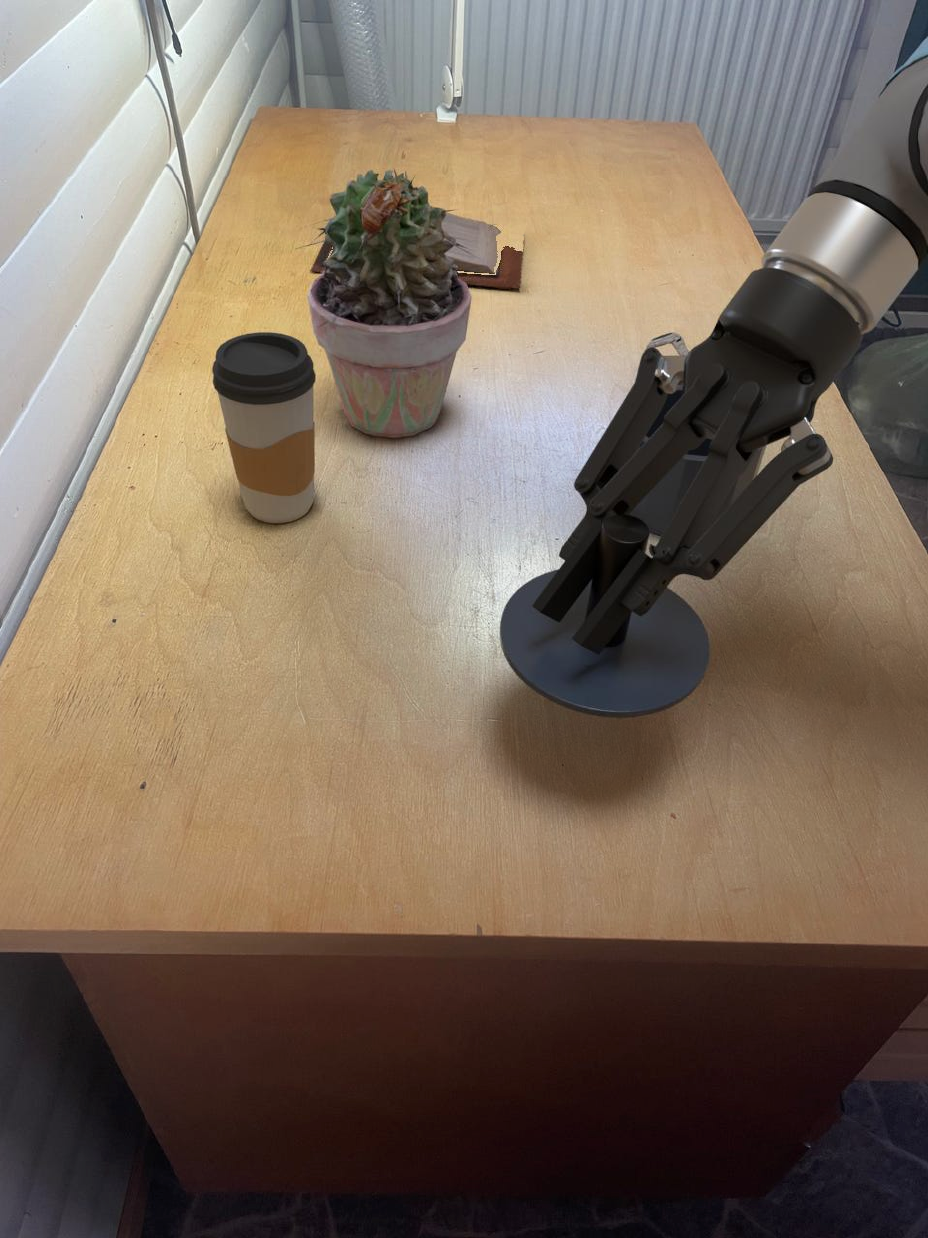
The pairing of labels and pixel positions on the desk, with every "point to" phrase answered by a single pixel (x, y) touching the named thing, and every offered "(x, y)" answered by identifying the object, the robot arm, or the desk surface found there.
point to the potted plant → (389, 305)
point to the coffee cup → (269, 422)
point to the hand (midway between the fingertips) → (565, 629)
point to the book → (485, 250)
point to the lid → (631, 661)
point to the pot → (684, 479)
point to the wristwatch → (670, 339)
